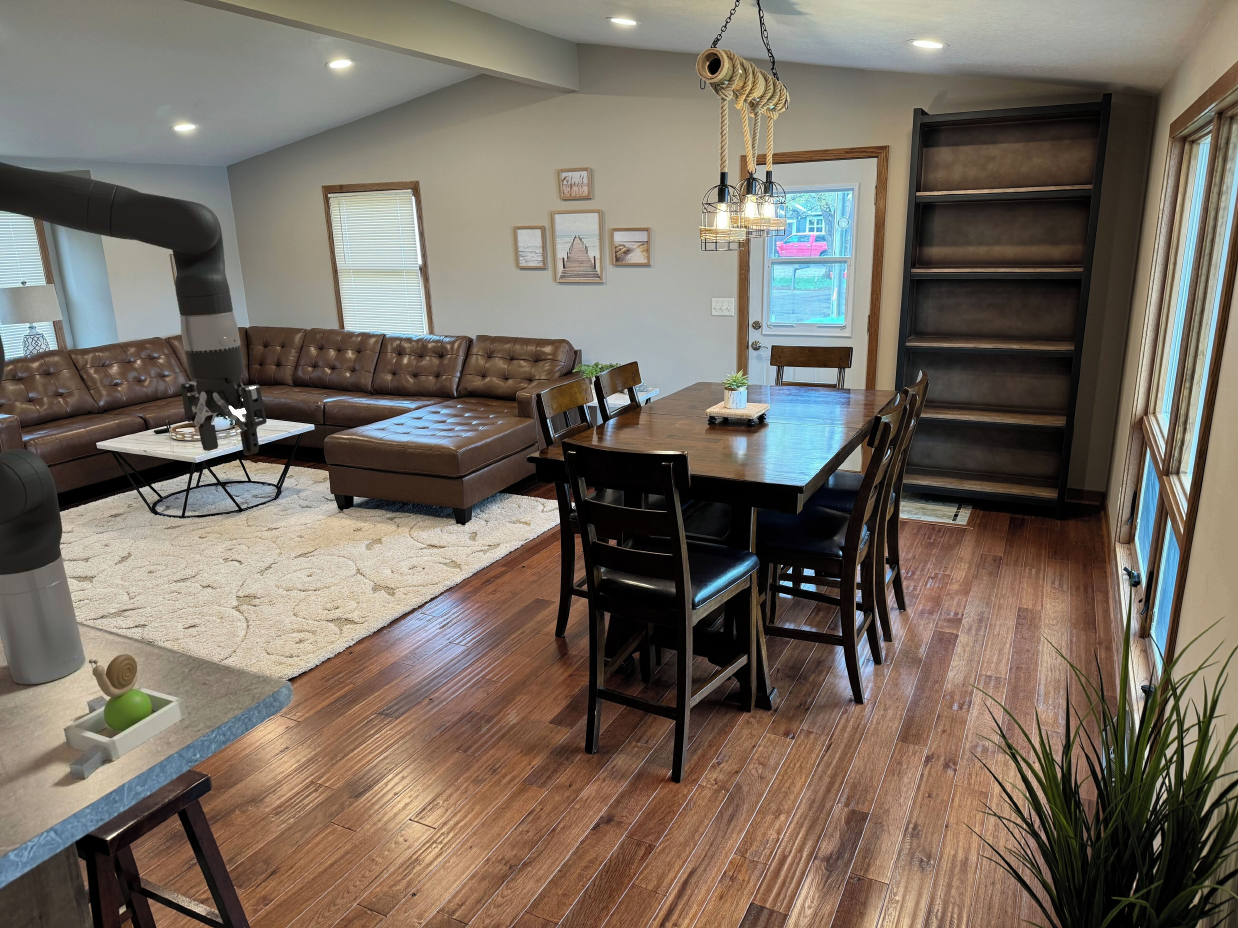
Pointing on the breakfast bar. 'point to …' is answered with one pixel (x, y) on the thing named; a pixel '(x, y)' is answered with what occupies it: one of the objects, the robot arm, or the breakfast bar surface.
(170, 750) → the breakfast bar surface
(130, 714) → the snail figurine
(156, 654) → the breakfast bar surface
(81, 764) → the white rectangular frame piece
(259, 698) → the breakfast bar surface
